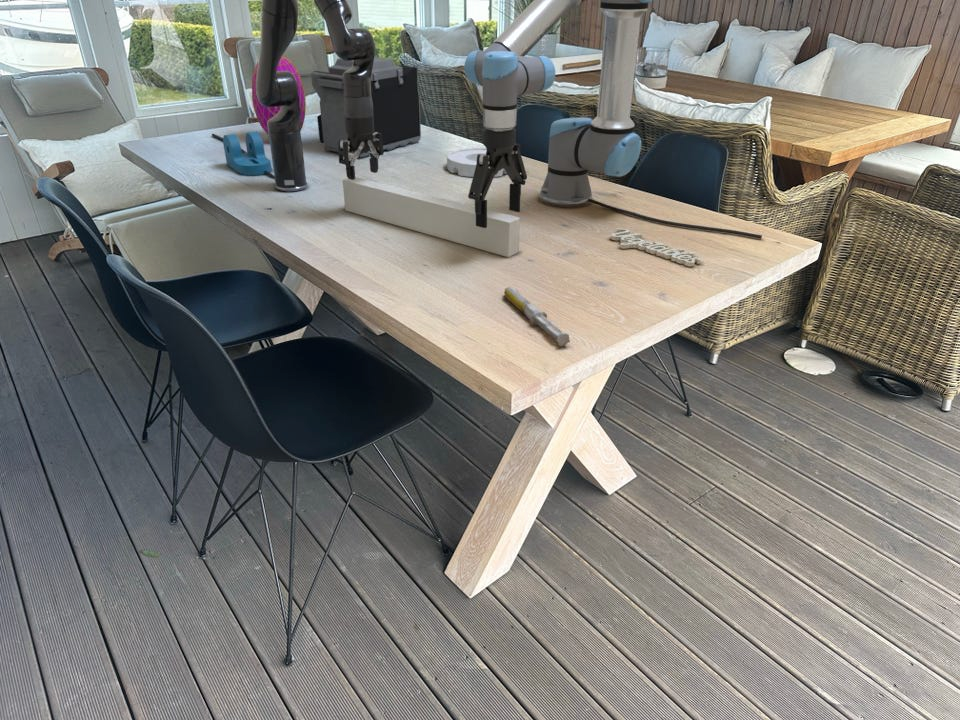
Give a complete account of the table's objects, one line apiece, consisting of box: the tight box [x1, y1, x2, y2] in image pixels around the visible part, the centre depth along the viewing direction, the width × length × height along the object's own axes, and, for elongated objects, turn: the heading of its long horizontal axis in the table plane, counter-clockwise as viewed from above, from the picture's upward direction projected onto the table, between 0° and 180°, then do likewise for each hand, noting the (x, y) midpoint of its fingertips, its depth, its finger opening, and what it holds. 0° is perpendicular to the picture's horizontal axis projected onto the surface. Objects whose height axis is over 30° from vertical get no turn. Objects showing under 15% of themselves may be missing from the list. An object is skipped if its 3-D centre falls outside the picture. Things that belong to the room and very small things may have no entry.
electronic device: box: [310, 56, 422, 159], centre depth 250 cm, size 37×22×30 cm, turn 144°
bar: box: [342, 176, 521, 258], centre depth 178 cm, size 56×4×9 cm, turn 53°
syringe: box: [504, 285, 571, 348], centre depth 136 cm, size 25×4×3 cm, turn 21°
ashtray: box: [446, 147, 508, 178], centre depth 232 cm, size 23×23×4 cm
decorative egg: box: [251, 55, 307, 136], centre depth 257 cm, size 19×19×30 cm
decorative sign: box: [610, 227, 702, 267], centre depth 169 cm, size 26×1×10 cm
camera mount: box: [222, 131, 272, 176], centre depth 226 cm, size 18×10×10 cm, turn 35°
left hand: (362, 175), depth 186 cm, fingers open, 8 cm apart
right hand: (498, 218), depth 165 cm, fingers open, 13 cm apart
